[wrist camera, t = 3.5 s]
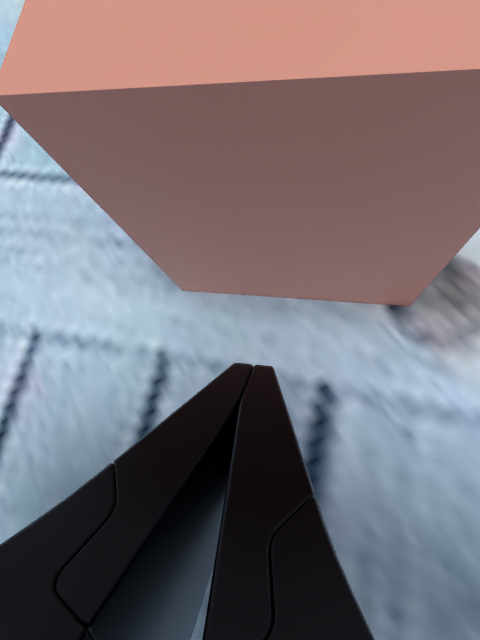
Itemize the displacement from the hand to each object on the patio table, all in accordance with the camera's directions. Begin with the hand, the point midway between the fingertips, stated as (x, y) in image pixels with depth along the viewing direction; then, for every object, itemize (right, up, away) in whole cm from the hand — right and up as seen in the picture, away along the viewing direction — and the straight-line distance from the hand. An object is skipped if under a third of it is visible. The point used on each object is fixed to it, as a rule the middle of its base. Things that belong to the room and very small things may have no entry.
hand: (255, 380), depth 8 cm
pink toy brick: (+3, +9, +10) cm, 14 cm away
